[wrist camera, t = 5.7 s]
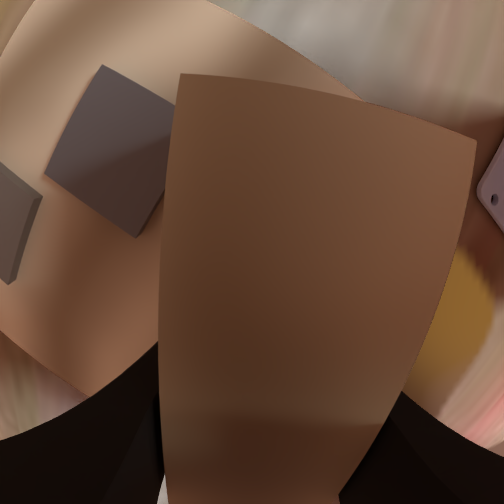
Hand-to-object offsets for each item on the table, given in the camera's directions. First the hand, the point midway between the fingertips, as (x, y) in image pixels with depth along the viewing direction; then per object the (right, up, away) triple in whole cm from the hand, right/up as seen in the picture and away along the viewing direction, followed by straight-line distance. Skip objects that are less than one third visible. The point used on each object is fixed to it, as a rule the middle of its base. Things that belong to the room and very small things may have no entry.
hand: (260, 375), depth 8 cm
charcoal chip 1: (-10, +5, +1) cm, 12 cm away
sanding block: (0, +1, +2) cm, 3 cm away
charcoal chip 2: (-4, +7, +1) cm, 8 cm away
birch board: (-4, +4, +3) cm, 7 cm away
